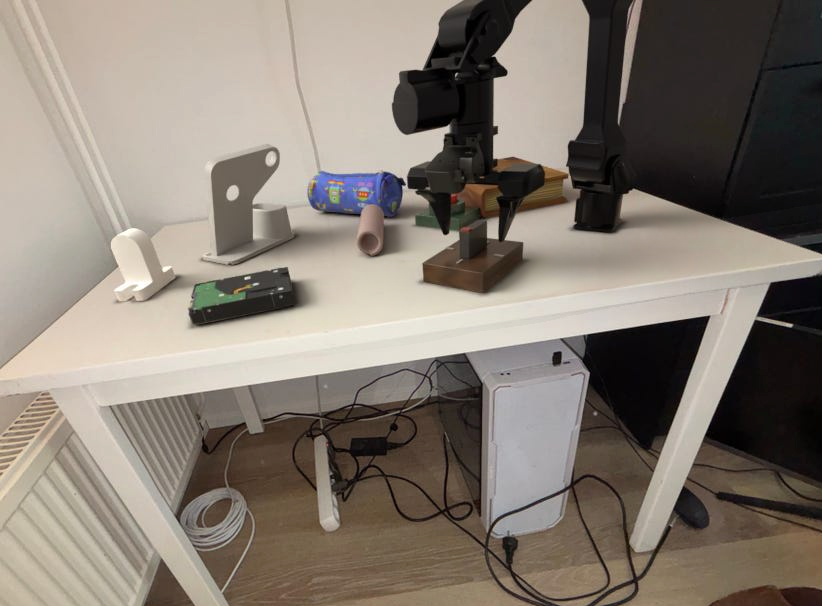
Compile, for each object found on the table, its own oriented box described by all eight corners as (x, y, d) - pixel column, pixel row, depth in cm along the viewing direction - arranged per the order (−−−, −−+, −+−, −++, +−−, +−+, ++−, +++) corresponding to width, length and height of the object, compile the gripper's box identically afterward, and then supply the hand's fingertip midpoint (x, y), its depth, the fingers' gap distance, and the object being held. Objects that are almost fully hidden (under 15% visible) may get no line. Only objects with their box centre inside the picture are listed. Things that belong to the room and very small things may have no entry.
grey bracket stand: (266, 231, 106) (244, 142, 96) (299, 235, 100) (279, 141, 91) (200, 259, 94) (168, 161, 85) (233, 265, 89) (203, 162, 79)
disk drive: (291, 281, 79) (198, 299, 77) (287, 265, 78) (193, 282, 76) (296, 307, 71) (192, 327, 69) (292, 289, 69) (186, 309, 67)
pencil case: (409, 210, 106) (405, 165, 101) (388, 222, 101) (383, 174, 96) (331, 206, 118) (324, 164, 113) (308, 217, 112) (299, 173, 107)
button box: (479, 218, 96) (479, 197, 94) (459, 230, 91) (458, 209, 89) (437, 214, 102) (436, 194, 100) (415, 225, 97) (414, 205, 95)
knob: (477, 245, 75) (477, 218, 73) (487, 246, 74) (487, 219, 72) (459, 257, 72) (458, 229, 69) (469, 259, 71) (468, 230, 68)
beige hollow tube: (382, 230, 82) (383, 203, 97) (355, 230, 82) (360, 203, 98) (383, 256, 85) (384, 225, 100) (356, 257, 85) (361, 226, 100)
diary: (440, 195, 115) (438, 169, 112) (512, 181, 118) (512, 156, 115) (481, 218, 96) (481, 189, 93) (566, 202, 99) (568, 172, 96)
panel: (522, 260, 76) (523, 241, 74) (482, 293, 68) (482, 272, 66) (466, 252, 81) (466, 234, 80) (423, 281, 73) (421, 261, 71)
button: (461, 201, 95) (460, 192, 94) (450, 207, 92) (449, 198, 91) (443, 200, 97) (443, 191, 96) (432, 205, 95) (432, 196, 94)
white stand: (176, 276, 88) (156, 221, 82) (145, 300, 79) (120, 241, 74) (151, 277, 89) (129, 223, 83) (117, 301, 80) (91, 243, 75)
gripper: (377, 133, 64) (390, 248, 72) (510, 131, 53) (507, 266, 61) (425, 119, 71) (431, 225, 79) (550, 115, 60) (542, 238, 68)
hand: (473, 237), depth 72 cm, fingers open, 9 cm apart
